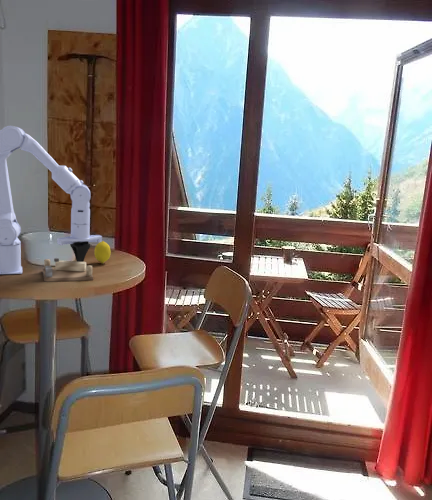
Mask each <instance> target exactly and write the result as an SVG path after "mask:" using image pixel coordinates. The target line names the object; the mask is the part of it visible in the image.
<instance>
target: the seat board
mask: <svg viewBox="0 0 432 500" xmlns="http://www.w3.org/2000/svg"><path fill="white" fill-rule="evenodd" d="M43 263H44V264H43V268H42V275H43V279H44V280H43V281H44V282H45V283H46V282H67V281H68V282H69V281H70V282H72V281H75V282H76V281H94V275H93V265H86V270H85V271H67V270H55V267H52V265H51V259H49V258H48V259H46V258H45V259H44V260H43Z"/></svg>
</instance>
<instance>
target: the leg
mask: <svg viewBox="0 0 432 500" xmlns="http://www.w3.org/2000/svg"><path fill="white" fill-rule="evenodd" d="M53 262H54V263H55V265H54V266H55V267H54V268H55V270H67V271H85V270H86V266H87V262H86V261H84V262H78V261H76V260H75V261H74V260H60V258H57V257H55V258H54V259H53Z"/></svg>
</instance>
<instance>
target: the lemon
mask: <svg viewBox="0 0 432 500" xmlns="http://www.w3.org/2000/svg"><path fill="white" fill-rule="evenodd" d="M93 253H94V257H95V259H96V260H97V261H98V262H100V263H101V264H104V263H105V262H107V261H109V259H110V258H111V253H112V252H111V247H110V245H109V244H108V242H106V241H104V240H102V242H98V243H97V244H96V245H95V246H94V252H93Z"/></svg>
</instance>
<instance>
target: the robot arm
mask: <svg viewBox="0 0 432 500" xmlns="http://www.w3.org/2000/svg"><path fill="white" fill-rule="evenodd" d="M18 149H19V150H21V151H24V152H26V153H30V154H32V155H33V156H34V157H35V158H36V159H37V160H38V161H39V162H40V163H41V164H42V165H43V166H44V167H45V168H46V169H48V170H49V171H50V172H51V179H52V181H54V183H56V184H57V185H58V187H60V188H61V189H62V190H63V191H64V192H65V193H66V194H69V195H70V200H71V209H70V211H71V212H70V235H69V236H64V237H57V238H56V241H57V243H56V244H57V245H58V246H64V245H70V248H71V249H72V251H73V254H74V256H75V261H78V262H85V258H86V255H87V253H88V251H89V250H90V248H91V244H90V243H97V242H98V243H100V242H102V241H103V236H102V235H100V234H95V235H94V234H90V233H91V232H90V230H91V229H90V227H91V225H90V224H91V219H90V218H91V209H90V207H91V203H90V200H91V190H90V189H89V187H88V186H87V184H85V183H84V181H83V180H82V179H79V178H78V177H77V176H76V175H75V174H74V173H73V169H72V168H71V167H67V165H59V164H58V163H57V162H56V160H55V159H54V158H53V157H52V156H51V155H50V154H49V153H48V152H47V150H45V148H44V147H43V146H42V145H41V143H39V142H38V141H37V140H36V139H34V138H33V137H32V136H31V135H30V134H28V133H26V132H25V130H24V129H22V128H21V127H20V126H19V127H18V126H14V125H7V126H6V125H5V126H4V127H3V128H2V129H0V275H18V274H20V275H22V274H23V266H22V259H21V258H22V256H21V255H22V251H21V247H22V246H21V245H22V244H21V243H22V242H21V240H20V239H19V238H18V237H19V236H20V235H21V233H22V227H21V225H20V224H19V223H18V220H17V217H16V213H15V210H14V203H13V202H14V201H13V197H12V189H11V183H10V176H9V175H10V174H9V170H8V169H9V168H8V162H7V160H8V158H9V157H10V156H11V155H12V154H13V153H14V151H16V150H18Z"/></svg>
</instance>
